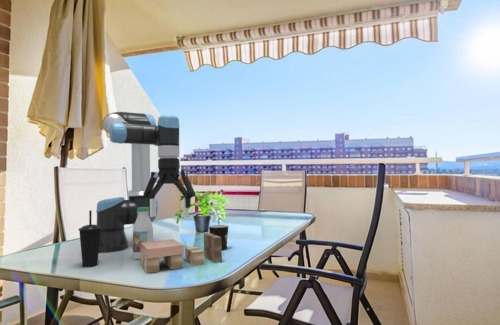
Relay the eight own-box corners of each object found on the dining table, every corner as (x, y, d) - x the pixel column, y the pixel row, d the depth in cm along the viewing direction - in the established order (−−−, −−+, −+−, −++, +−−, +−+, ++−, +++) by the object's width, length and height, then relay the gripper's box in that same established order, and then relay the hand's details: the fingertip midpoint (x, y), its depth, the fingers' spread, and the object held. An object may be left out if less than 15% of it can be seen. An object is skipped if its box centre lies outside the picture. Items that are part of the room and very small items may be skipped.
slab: (140, 250, 113) (140, 242, 113) (173, 247, 119) (173, 239, 119) (147, 258, 101) (147, 249, 101) (183, 253, 106) (183, 244, 106)
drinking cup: (79, 264, 116) (80, 210, 117) (102, 262, 118) (102, 209, 120) (76, 269, 109) (77, 211, 110) (100, 266, 111) (100, 210, 113)
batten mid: (163, 262, 115) (163, 248, 115) (174, 261, 117) (174, 247, 117) (171, 269, 105) (171, 254, 106) (182, 267, 107) (182, 253, 108)
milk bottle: (144, 254, 130) (144, 206, 131) (157, 256, 126) (157, 206, 127) (128, 258, 123) (128, 207, 124) (141, 260, 119) (141, 208, 120)
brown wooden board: (204, 256, 123) (203, 233, 124) (209, 255, 124) (209, 233, 125) (215, 263, 113) (215, 237, 113) (221, 262, 114) (221, 237, 114)
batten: (185, 260, 119) (185, 247, 119) (195, 258, 121) (195, 246, 121) (193, 266, 109) (193, 252, 109) (204, 265, 111) (204, 251, 111)
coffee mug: (219, 246, 142) (218, 224, 143) (233, 248, 137) (232, 225, 138) (199, 251, 133) (199, 227, 134) (213, 253, 128) (213, 229, 129)
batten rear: (141, 265, 111) (141, 251, 111) (152, 264, 113) (152, 250, 113) (146, 273, 101) (146, 257, 102) (159, 271, 103) (159, 256, 104)
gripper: (204, 157, 113) (205, 216, 112) (146, 160, 121) (146, 215, 119) (194, 156, 106) (195, 218, 105) (133, 158, 114) (133, 217, 112)
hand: (169, 217), depth 112 cm, fingers open, 13 cm apart
